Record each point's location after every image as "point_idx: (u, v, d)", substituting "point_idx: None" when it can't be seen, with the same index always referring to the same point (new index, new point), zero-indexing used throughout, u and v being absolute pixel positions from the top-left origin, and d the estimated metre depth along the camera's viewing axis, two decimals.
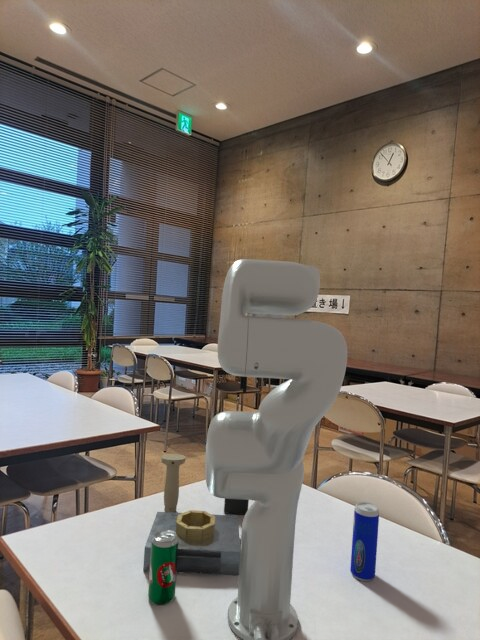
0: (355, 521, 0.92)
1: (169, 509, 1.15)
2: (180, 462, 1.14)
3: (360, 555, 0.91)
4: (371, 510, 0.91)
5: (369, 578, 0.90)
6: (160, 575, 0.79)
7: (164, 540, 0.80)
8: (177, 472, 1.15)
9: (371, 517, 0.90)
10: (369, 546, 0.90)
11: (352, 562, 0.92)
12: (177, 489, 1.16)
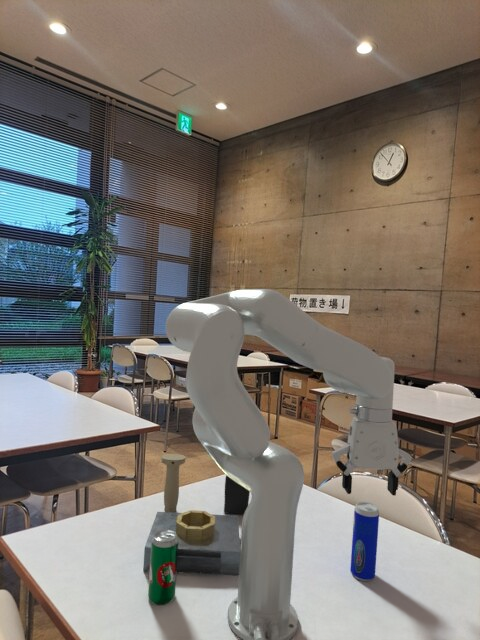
0: (355, 521, 0.92)
1: (169, 509, 1.15)
2: (180, 462, 1.14)
3: (360, 555, 0.91)
4: (371, 510, 0.91)
5: (369, 578, 0.90)
6: (160, 575, 0.79)
7: (164, 540, 0.80)
8: (177, 472, 1.15)
9: (371, 517, 0.90)
10: (369, 546, 0.90)
11: (352, 562, 0.92)
12: (178, 489, 1.16)
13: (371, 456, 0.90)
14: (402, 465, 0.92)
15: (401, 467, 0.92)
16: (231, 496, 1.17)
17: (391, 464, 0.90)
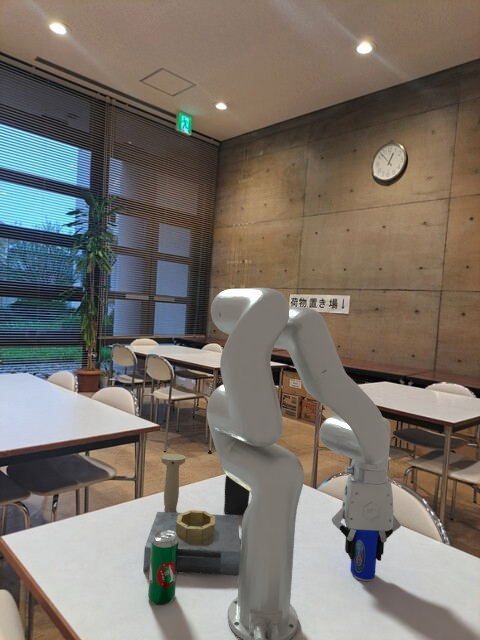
0: None
1: (169, 509, 1.15)
2: (180, 462, 1.14)
3: (360, 555, 0.91)
4: None
5: (369, 578, 0.90)
6: (160, 575, 0.79)
7: (164, 540, 0.80)
8: (177, 472, 1.15)
9: None
10: (369, 546, 0.90)
11: (352, 562, 0.92)
12: (177, 489, 1.16)
13: (366, 517, 0.90)
14: (388, 530, 0.92)
15: (387, 531, 0.92)
16: (231, 496, 1.17)
17: (386, 525, 0.90)
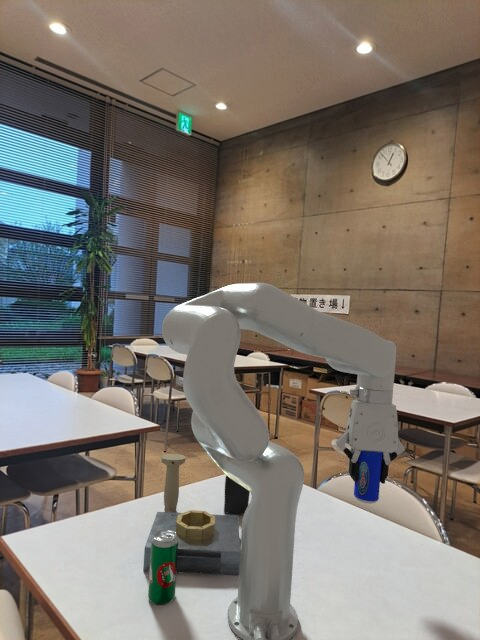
0: None
1: (169, 509, 1.15)
2: (180, 462, 1.14)
3: (364, 477, 0.90)
4: None
5: (373, 500, 0.90)
6: (160, 575, 0.79)
7: (164, 540, 0.80)
8: (177, 472, 1.15)
9: None
10: (373, 468, 0.90)
11: (356, 485, 0.92)
12: (177, 489, 1.16)
13: (370, 438, 0.89)
14: (392, 453, 0.92)
15: (391, 454, 0.92)
16: (231, 496, 1.17)
17: (390, 447, 0.89)
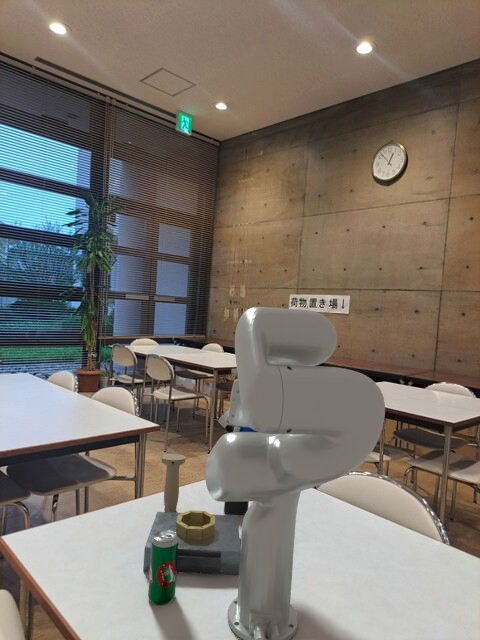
0: None
1: (169, 509, 1.15)
2: (180, 462, 1.14)
3: None
4: None
5: None
6: (160, 575, 0.79)
7: (164, 540, 0.80)
8: (177, 472, 1.15)
9: None
10: None
11: None
12: (178, 489, 1.16)
13: None
14: None
15: None
16: None
17: None
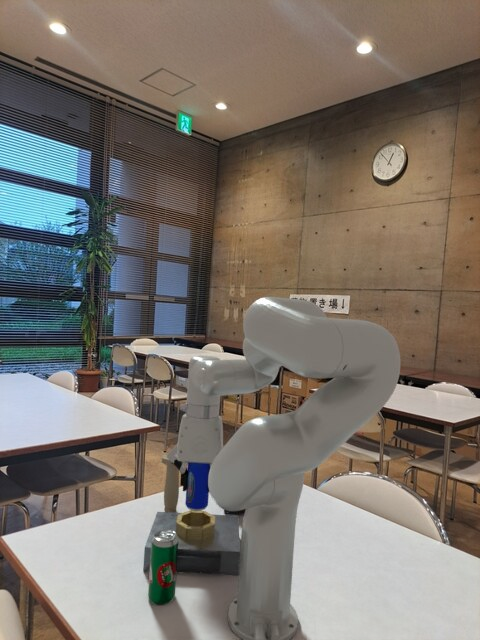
0: None
1: (169, 509, 1.15)
2: None
3: (190, 486, 0.96)
4: None
5: (199, 507, 0.95)
6: (160, 575, 0.79)
7: (164, 540, 0.80)
8: (177, 472, 1.15)
9: None
10: (198, 478, 0.95)
11: (186, 494, 0.97)
12: (178, 489, 1.16)
13: (195, 450, 0.95)
14: None
15: None
16: None
17: (214, 458, 0.95)
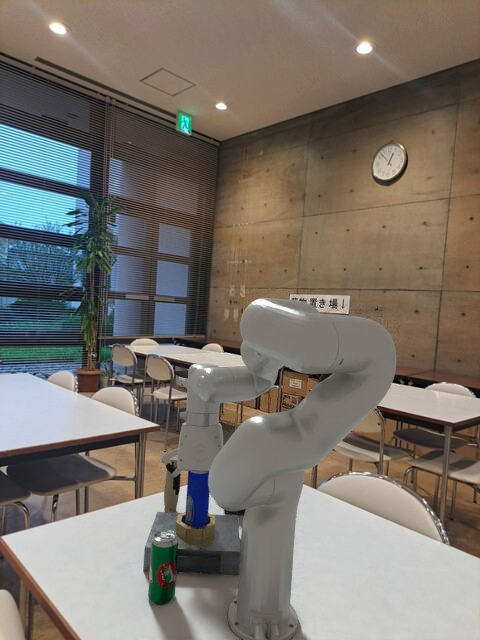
0: None
1: (169, 509, 1.15)
2: None
3: (189, 510, 0.95)
4: None
5: None
6: (160, 575, 0.79)
7: (164, 540, 0.80)
8: None
9: (199, 473, 0.95)
10: (197, 502, 0.95)
11: (185, 517, 0.97)
12: None
13: (195, 458, 0.94)
14: None
15: None
16: None
17: None
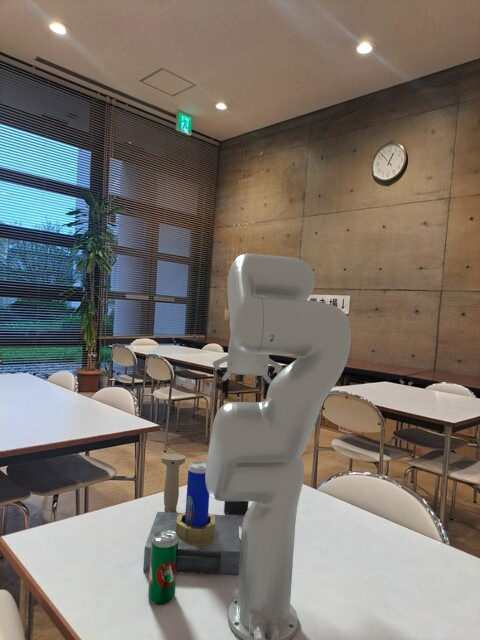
0: None
1: (169, 509, 1.15)
2: (180, 462, 1.14)
3: (189, 510, 0.95)
4: (201, 467, 0.96)
5: None
6: (160, 575, 0.79)
7: (164, 540, 0.80)
8: (177, 472, 1.15)
9: (199, 473, 0.95)
10: (197, 502, 0.95)
11: (185, 517, 0.97)
12: (177, 489, 1.16)
13: (244, 363, 1.04)
14: (273, 373, 1.06)
15: (272, 375, 1.06)
16: None
17: (261, 370, 1.04)
